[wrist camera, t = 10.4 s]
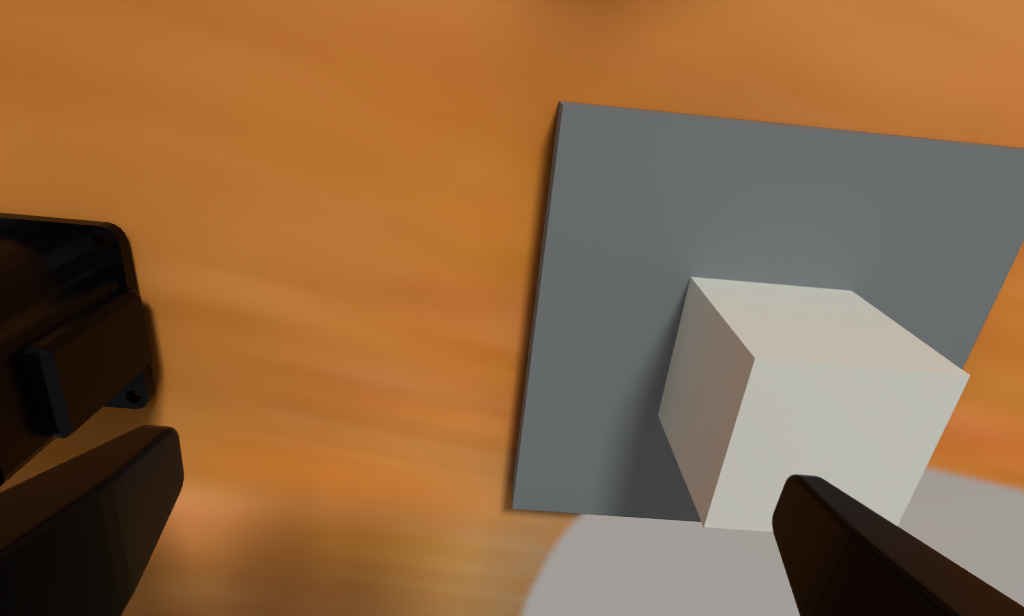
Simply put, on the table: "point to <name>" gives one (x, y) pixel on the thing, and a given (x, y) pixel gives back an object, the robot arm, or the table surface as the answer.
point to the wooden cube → (799, 399)
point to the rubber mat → (730, 270)
